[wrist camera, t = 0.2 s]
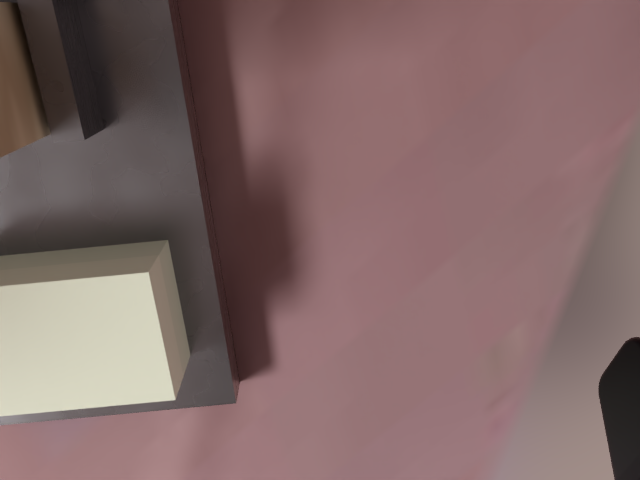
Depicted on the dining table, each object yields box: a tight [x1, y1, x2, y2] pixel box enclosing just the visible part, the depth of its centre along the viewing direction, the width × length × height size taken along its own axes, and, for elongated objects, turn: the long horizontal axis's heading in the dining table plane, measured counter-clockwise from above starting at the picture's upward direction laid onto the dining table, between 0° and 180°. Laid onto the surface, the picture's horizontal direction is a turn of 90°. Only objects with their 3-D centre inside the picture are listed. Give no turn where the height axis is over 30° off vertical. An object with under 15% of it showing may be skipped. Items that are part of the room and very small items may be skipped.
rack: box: [0, 0, 240, 425], centre depth 21 cm, size 18×11×5 cm, turn 5°
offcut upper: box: [0, 255, 183, 416], centre depth 21 cm, size 5×8×2 cm, turn 95°
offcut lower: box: [0, 240, 190, 376], centre depth 22 cm, size 5×8×2 cm, turn 95°
